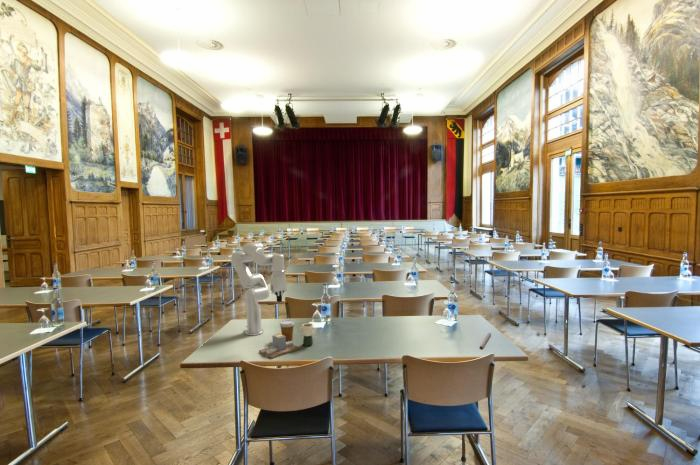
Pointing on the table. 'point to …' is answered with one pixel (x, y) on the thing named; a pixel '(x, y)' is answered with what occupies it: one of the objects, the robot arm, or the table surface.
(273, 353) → the rail board
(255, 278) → the robot arm
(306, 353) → the table surface
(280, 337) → the block
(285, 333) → the disposable coffee cup
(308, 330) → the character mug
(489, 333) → the metal rod
